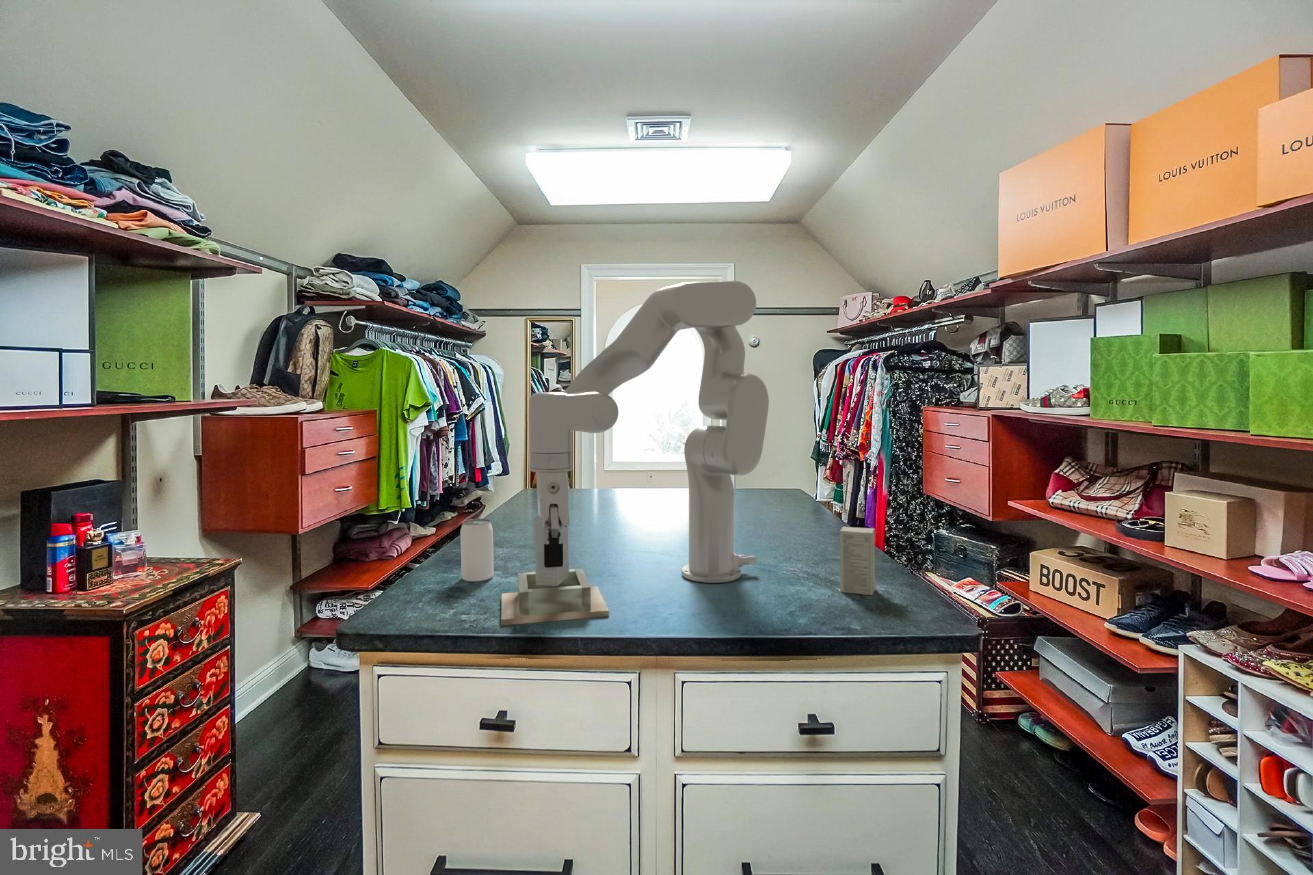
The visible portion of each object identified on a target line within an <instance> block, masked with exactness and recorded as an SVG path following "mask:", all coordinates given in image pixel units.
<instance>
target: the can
mask: <svg viewBox="0 0 1313 875" xmlns="http://www.w3.org/2000/svg"><path fill="white" fill-rule="evenodd" d="M461 523H462V524H461V526H460V527H461V528H460V531H459V532H460V566H461V568H460V569H461V573H460V574H461V579H462V580H463V581H464V582H467V583H481V582H486V581H489V580H491V579H492V578H493V576H494V574H495V573H494V533H493V532H494V531H493V526H492V524H491V519H488V518H471V519H466V520H464V521H462V522H461Z"/></svg>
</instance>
